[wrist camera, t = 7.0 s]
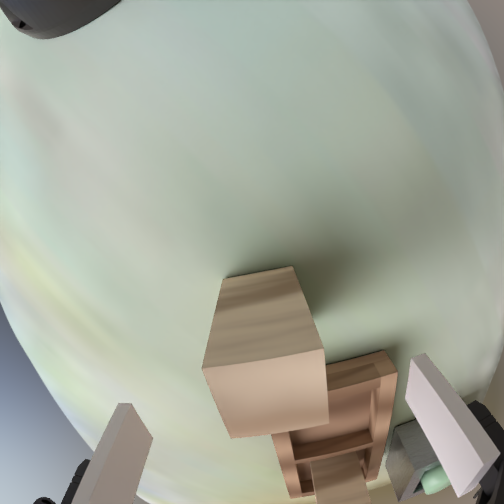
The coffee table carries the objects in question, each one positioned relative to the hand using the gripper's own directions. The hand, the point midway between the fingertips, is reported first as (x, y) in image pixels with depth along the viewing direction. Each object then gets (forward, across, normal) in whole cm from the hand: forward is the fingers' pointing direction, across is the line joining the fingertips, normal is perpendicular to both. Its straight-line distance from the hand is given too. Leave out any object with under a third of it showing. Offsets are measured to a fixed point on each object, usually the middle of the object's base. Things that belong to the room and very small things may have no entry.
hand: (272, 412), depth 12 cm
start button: (+5, +17, -24) cm, 30 cm away
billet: (+10, 0, +1) cm, 10 cm away
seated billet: (+10, +4, -21) cm, 23 cm away
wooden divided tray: (+11, +4, -16) cm, 20 cm away
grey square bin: (+11, +17, -24) cm, 32 cm away
